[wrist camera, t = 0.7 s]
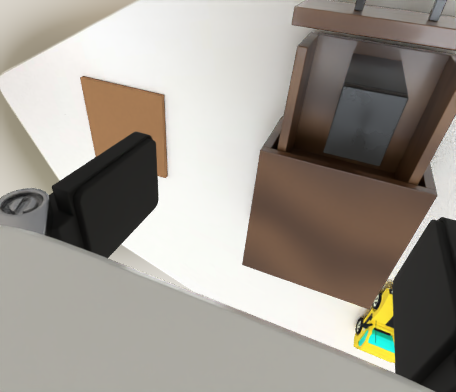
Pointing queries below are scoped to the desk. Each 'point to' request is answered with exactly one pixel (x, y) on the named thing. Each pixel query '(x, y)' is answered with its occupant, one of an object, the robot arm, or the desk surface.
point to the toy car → (378, 329)
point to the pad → (124, 116)
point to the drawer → (376, 28)
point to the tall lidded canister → (368, 109)
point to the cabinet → (331, 223)
